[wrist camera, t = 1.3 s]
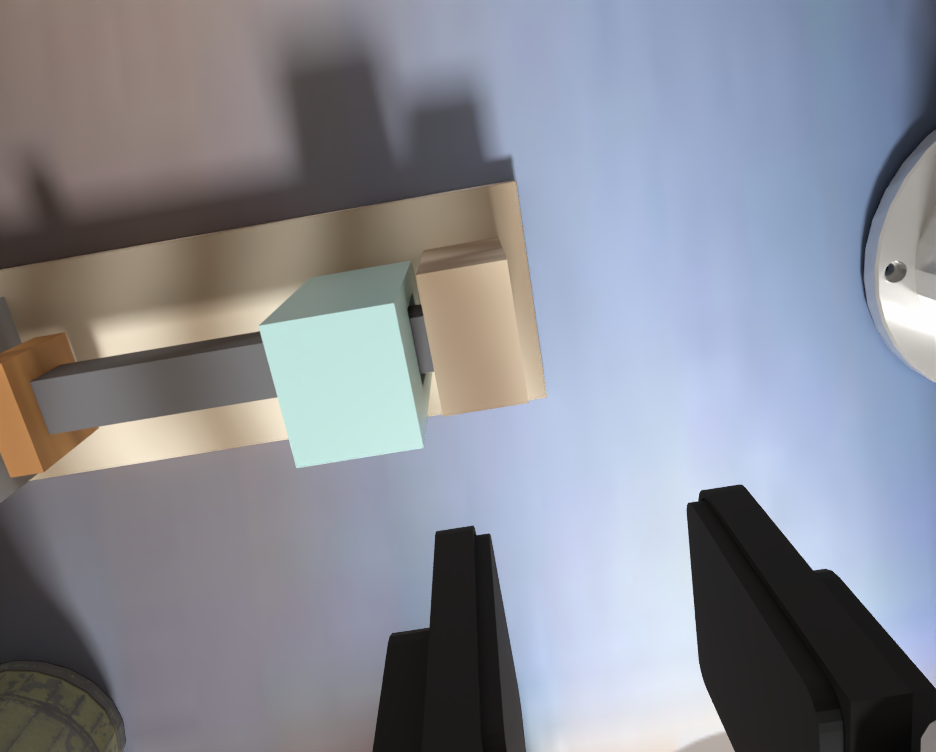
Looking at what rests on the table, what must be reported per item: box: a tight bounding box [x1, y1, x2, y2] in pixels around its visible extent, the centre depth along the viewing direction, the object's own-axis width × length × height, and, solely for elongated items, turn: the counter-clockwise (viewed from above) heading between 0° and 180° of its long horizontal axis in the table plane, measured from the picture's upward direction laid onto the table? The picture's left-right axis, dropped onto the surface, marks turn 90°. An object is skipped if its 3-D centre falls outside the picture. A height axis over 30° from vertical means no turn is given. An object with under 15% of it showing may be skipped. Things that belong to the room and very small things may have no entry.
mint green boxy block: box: [259, 261, 432, 468], centre depth 25 cm, size 4×5×8 cm
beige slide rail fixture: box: [0, 180, 547, 503], centre depth 26 cm, size 26×9×9 cm, turn 100°
